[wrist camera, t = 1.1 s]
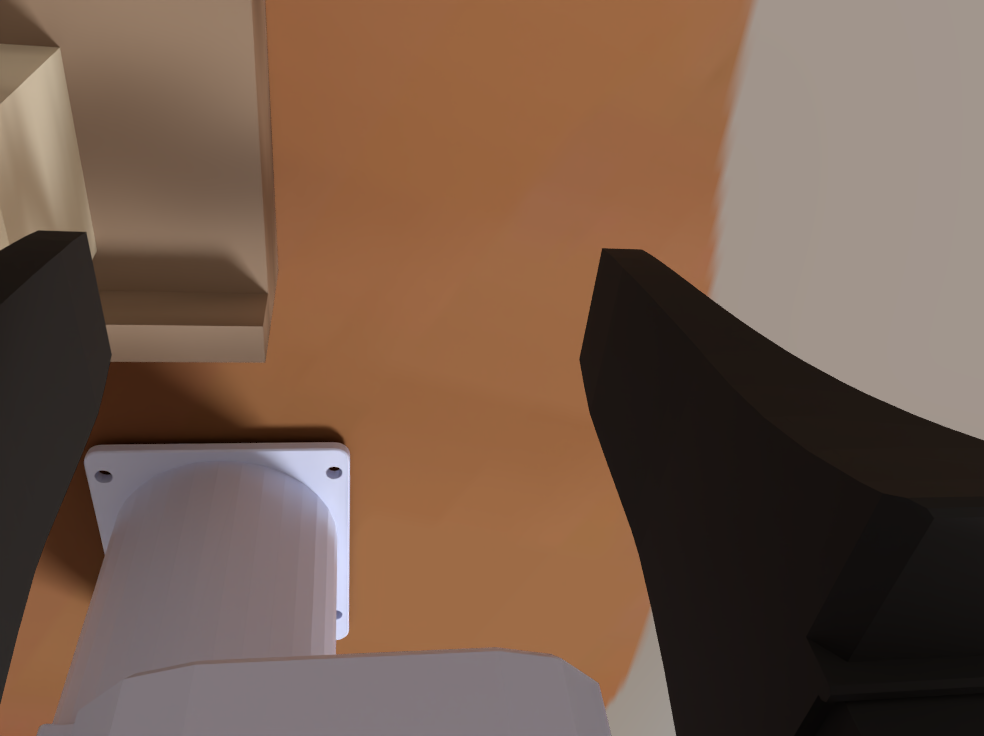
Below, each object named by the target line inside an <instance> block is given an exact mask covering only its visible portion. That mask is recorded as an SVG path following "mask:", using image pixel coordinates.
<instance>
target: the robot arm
mask: <svg viewBox="0 0 984 736" xmlns="http://www.w3.org/2000/svg"><path fill="white" fill-rule="evenodd" d="M111 356H112V353H111V348H110V344H109V339H108V334H107V329H106V324H105V319H104V315H103V310H102V305H101V300H100V295H99V290H98V286H97V281H96V276H95V271H94V266H93V261H92V256H91V252H90V247H89V242H88V237H87V232H76V231H44V230H38V231H36V232H33V233H31V234H29V235H27V236H25V237H23V238H21V239H19V240H17V241H16V242H14V243H12V244H10V245H9V246H7V247H5V248H3V249H2V250H0V703H1V699H2V695H3V691H4V687H5V683H6V679H7V675H8V671H9V667H10V663H11V659H12V655H13V651H14V647H15V643H16V639H17V635H18V631H19V627H20V624H21V620H22V617H23V613H24V609H25V606H26V602H27V599H28V595H29V591H30V588H31V584H32V580H33V577H34V573H35V570H36V567H37V565H38V562H39V559H40V556H41V553H42V551H43V548H44V545H45V542H46V540H47V537H48V535H49V532H50V530H51V528H52V525H53V523H54V520H55V518H56V516H57V513H58V511H59V508H60V506H61V504H62V501H63V499H64V496H65V494H66V492H67V489H68V487H69V484H70V482H71V480H72V477H73V475H74V472H75V470H76V467H77V465H78V463H79V460H80V458H81V455H82V453H83V450H84V448H85V445H86V443H87V440H88V438H89V436H90V433H91V431H92V428H93V425H94V423H95V420H96V418H97V415H98V412H99V408H100V404H101V400H102V396H103V392H104V388H105V384H106V379H107V374H108V370H109V365H110V361H111ZM579 360H580V365H581V371H582V376H583V382H584V387H585V392H586V397H587V402H588V407H589V411H590V415H591V418H592V421H593V424H594V427H595V430H596V433H597V436H598V438H599V441H600V444H601V447H602V450H603V453H604V456H605V458H606V461H607V464H608V467H609V469H610V472H611V475H612V478H613V480H614V483H615V486H616V489H617V491H618V494H619V497H620V500H621V503H622V505H623V508H624V511H625V514H626V516H627V519H628V522H629V525H630V527H631V530H632V534H633V537H634V540H635V544H636V547H637V550H638V553H639V557H640V561H641V566H642V570H643V574H644V578H645V583H646V587H647V591H648V596H649V600H650V604H651V608H652V613H653V618H654V623H655V627H656V632H657V637H658V642H659V646H660V651H661V656H662V661H663V666H664V671H665V676H666V682H667V687H668V693H669V698H670V703H671V709H672V714H673V720H674V725H675V731H676V736H984V440H981V439H978V438H975V437H972V436H969V435H966V434H964V433H961V432H958V431H955V430H952V429H950V428H946V427H944V426H941V425H939V424H936V423H934V422H931V421H929V420H926V419H923V418H921V417H918V416H916V415H913V414H911V413H909V412H906V411H904V410H902V409H900V408H897V407H895V406H893V405H890V404H888V403H886V402H884V401H881V400H879V399H877V398H874V397H872V396H870V395H868V394H865V393H863V392H861V391H859V390H857V389H855V388H853V387H851V386H849V385H847V384H845V383H843V382H841V381H839V380H838V379H836V378H834V377H832V376H830V375H828V374H826V373H825V372H822V371H821V370H819V369H817V368H815V367H814V366H812V365H810V364H808V363H806V362H804V361H803V360H801V359H799V358H798V357H796V356H794V355H792V354H791V353H789V352H788V351H786V350H784V349H783V348H781V347H780V346H778V345H777V344H775V343H773V342H772V341H770V340H769V339H767V338H766V337H764V336H763V335H761V334H760V333H758V332H756V331H755V330H753V329H752V328H751V327H749V326H748V325H746V324H745V323H743V322H742V321H740V320H739V319H738V318H736V317H735V316H733V315H732V314H731V313H729V312H728V311H726V310H725V309H724V308H722V307H721V306H720V305H718V304H717V303H715V302H714V301H713V300H711V299H710V298H709V297H707V296H706V295H705V294H703V293H702V292H701V291H699V290H698V289H697V288H695V287H694V286H693V285H691V284H690V283H689V282H687V281H686V280H685V279H684V278H682V277H681V276H680V275H678V274H677V273H676V272H674V271H673V270H671V269H670V268H669V267H667V266H666V265H665V264H663V263H662V262H660V261H659V260H658V259H656V258H655V257H653V256H652V255H650V254H648V253H647V252H645V251H643V250H637V249H606V248H602V252H601V257H600V262H599V267H598V272H597V277H596V281H595V286H594V291H593V296H592V301H591V306H590V311H589V316H588V320H587V325H586V330H585V335H584V340H583V345H582V350H581V354H580V359H579ZM84 466H85V471H86V475H87V479H88V484H89V488H90V492H91V497H92V501H93V506H94V510H95V514H96V519H97V523H98V527H99V532H100V536H101V541H102V545H103V549H104V554H105V557H104V560H103V563H102V566H101V570H100V573H99V576H98V579H97V582H96V586H95V589H94V592H93V595H92V598H91V602H90V605H89V608H88V611H87V614H86V618H85V621H84V624H83V627H82V630H81V634H80V637H79V640H78V643H77V646H76V650H75V653H74V656H73V659H72V662H71V666H70V669H69V672H68V675H67V678H66V682H65V685H64V688H63V691H62V694H61V698H60V701H59V704H58V707H57V710H56V714H55V717H54V720H53V723H52V724H43V725H41V726H40V727H39V729H38V732H37V735H36V736H611V732H610V727H609V723H608V719H607V715H606V711H605V707H604V703H603V699H602V695H601V691H600V687H599V683H598V682H596V681H595V680H593V679H592V678H590V677H589V676H587V675H585V674H584V673H582V672H581V671H579V670H578V669H576V668H575V667H573V666H572V665H570V664H569V663H567V662H566V661H564V660H563V659H561V658H559V657H557V656H554V655H552V654H546V653H538V652H530V651H522V650H513V649H505V648H497V647H493V648H471V649H448V650H426V651H404V652H381V653H359V654H337V655H336V640H339V639H342V638H344V637H345V636H346V635H347V634H348V632H349V527H350V452H349V449H348V448H347V447H346V446H345V445H343V444H341V443H337V442H299V443H208V444H118V445H96V446H93V447H91V448H90V449H89V450H88V451H87V453H86V456H85V458H84ZM330 467H338V468H340V469H339V470H336V471H332V470H329V468H330ZM101 470H103V471H108V472H109V473H111V474H109V475H107V474H103V473H101V472H99V471H101ZM336 610H337V611H336Z"/></svg>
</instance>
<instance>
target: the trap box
mask: <svg viewBox="0 0 984 736" xmlns="http://www.w3.org/2000/svg"><path fill="white" fill-rule="evenodd" d="M0 44H13V45H28V46H44V47H60V51H61V56H62V62H63V67H64V73H65V78H66V84H67V89H68V94H69V100H70V105H71V111H72V116H73V122H74V127H75V133H76V138H77V144H78V149H79V155H80V160H81V166H82V171H83V177H84V182H85V188H86V193H87V199H88V204H89V209H90V215H91V220H92V226H93V231H94V237H95V242H96V248H97V252H96V254H95V256H94V258H93V259H92V261H93V266H94V271H95V276H96V281H97V286H98V290H99V295H100V300H101V305H102V310H103V315H104V319H105V324H106V329H107V334H108V339H109V344H110V348H111V353H112V356H111V361H110V362H265V361H266V354H267V347H268V340H269V333H270V326H271V319H272V312H273V305H274V298H275V291H276V284H277V277H278V255H277V234H276V213H275V193H274V172H273V152H272V131H271V111H270V90H269V70H268V49H267V29H266V8H265V0H0Z"/></svg>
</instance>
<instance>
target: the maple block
mask: <svg viewBox="0 0 984 736" xmlns="http://www.w3.org/2000/svg"><path fill="white" fill-rule="evenodd" d="M38 230H44V231H76V232H87V237H88V242H89V247H90V252H91V256H92V259H93V258H94V256H95V254H96V252H97V248H96V242H95V237H94V231H93V226H92V220H91V215H90V209H89V204H88V199H87V193H86V188H85V182H84V177H83V171H82V166H81V160H80V155H79V149H78V144H77V138H76V133H75V127H74V122H73V116H72V111H71V105H70V100H69V94H68V89H67V84H66V78H65V73H64V67H63V62H62V56H61V51H60V47H44V46H28V45H13V44H0V250H2V249H3V248H5V247H7V246H9V245H10V244H12V243H14V242H16V241H17V240H19V239H21V238H23V237H25V236H27V235H29V234H31V233H33V232H36V231H38Z"/></svg>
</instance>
